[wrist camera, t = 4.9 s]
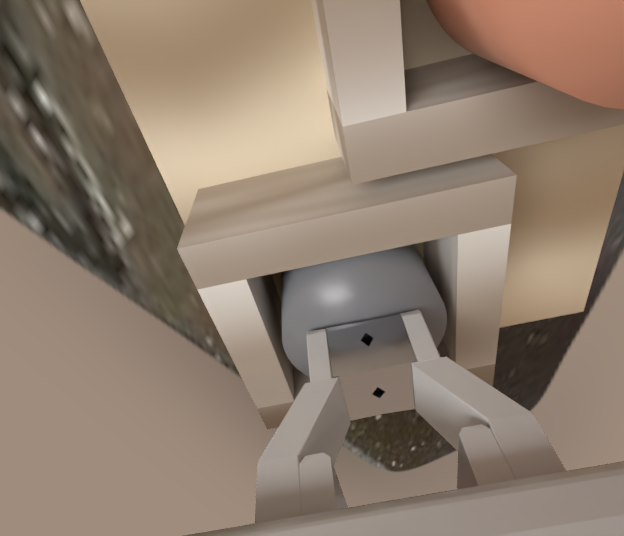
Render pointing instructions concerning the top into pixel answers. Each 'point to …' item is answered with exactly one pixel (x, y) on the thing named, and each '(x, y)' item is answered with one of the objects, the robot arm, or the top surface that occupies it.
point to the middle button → (546, 41)
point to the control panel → (360, 164)
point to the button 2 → (356, 296)
